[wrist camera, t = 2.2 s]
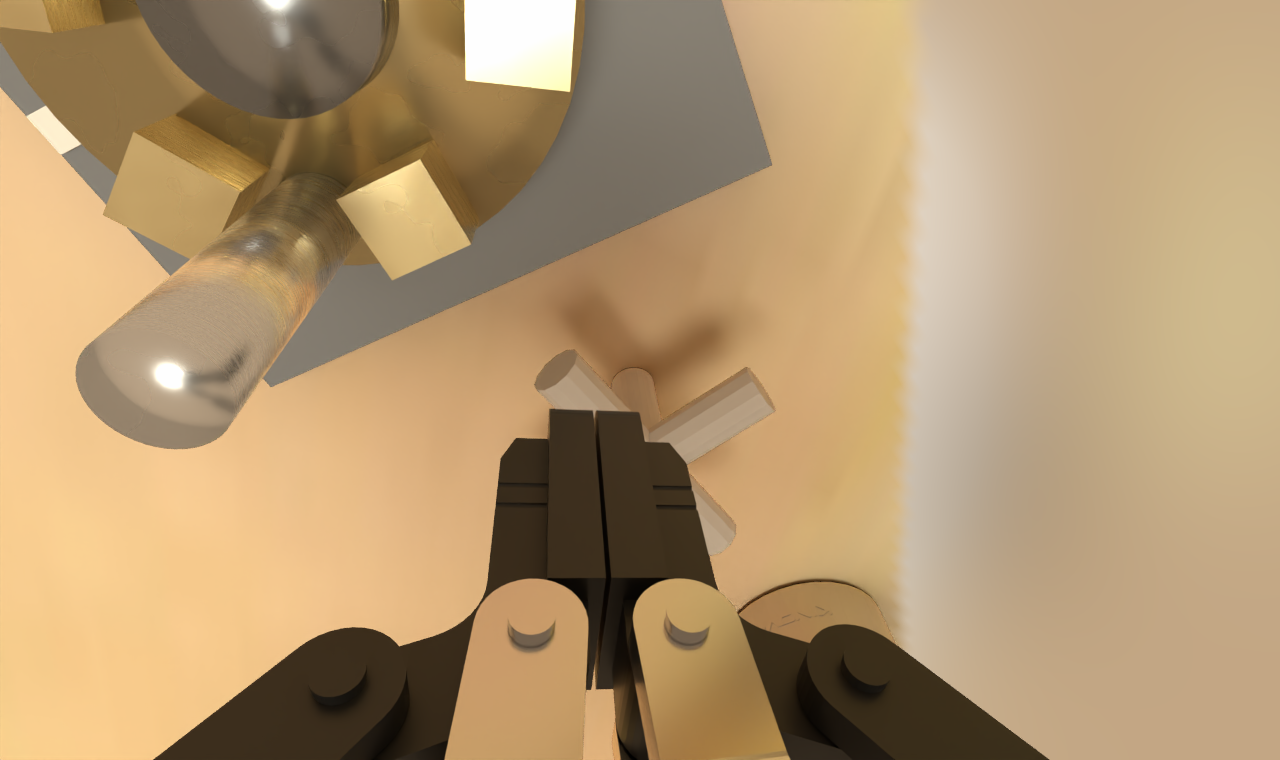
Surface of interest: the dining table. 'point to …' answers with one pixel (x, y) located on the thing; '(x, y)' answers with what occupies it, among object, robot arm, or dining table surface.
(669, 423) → the pipe connector
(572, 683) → the robot arm
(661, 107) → the base plate
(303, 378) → the dining table surface
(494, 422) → the dining table surface
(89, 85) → the brass lugged hub
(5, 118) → the dining table surface
